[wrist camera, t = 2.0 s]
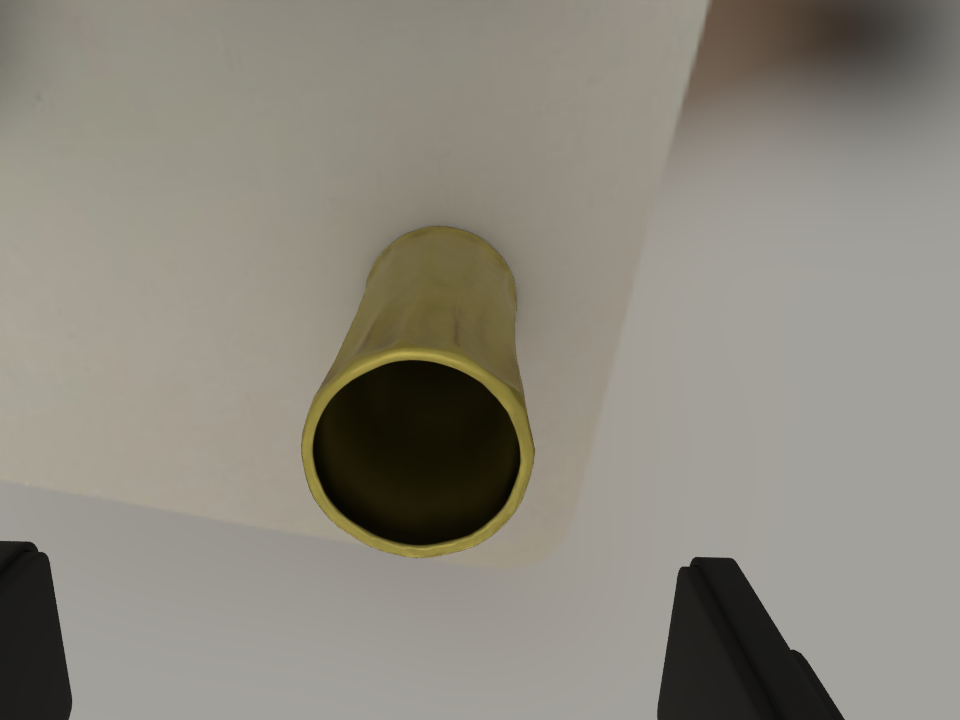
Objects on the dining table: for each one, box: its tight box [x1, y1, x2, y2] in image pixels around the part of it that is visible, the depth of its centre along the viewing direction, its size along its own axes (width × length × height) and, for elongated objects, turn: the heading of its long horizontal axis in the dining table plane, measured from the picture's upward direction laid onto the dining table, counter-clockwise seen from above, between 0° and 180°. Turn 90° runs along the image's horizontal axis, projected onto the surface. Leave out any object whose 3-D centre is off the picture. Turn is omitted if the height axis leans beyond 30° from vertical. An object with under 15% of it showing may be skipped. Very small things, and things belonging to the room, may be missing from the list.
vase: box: [301, 226, 535, 558], centre depth 23 cm, size 6×6×14 cm
